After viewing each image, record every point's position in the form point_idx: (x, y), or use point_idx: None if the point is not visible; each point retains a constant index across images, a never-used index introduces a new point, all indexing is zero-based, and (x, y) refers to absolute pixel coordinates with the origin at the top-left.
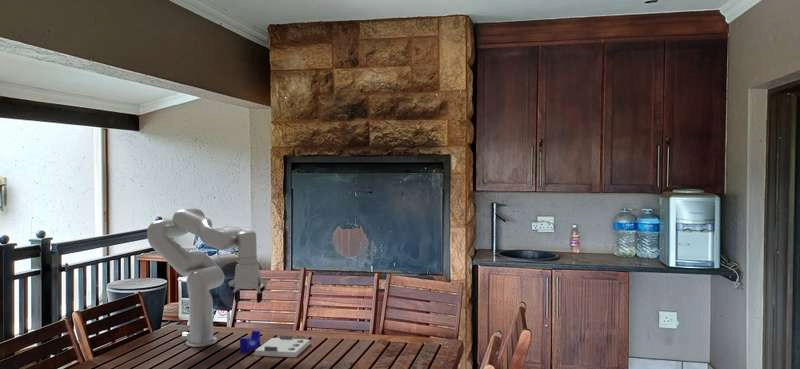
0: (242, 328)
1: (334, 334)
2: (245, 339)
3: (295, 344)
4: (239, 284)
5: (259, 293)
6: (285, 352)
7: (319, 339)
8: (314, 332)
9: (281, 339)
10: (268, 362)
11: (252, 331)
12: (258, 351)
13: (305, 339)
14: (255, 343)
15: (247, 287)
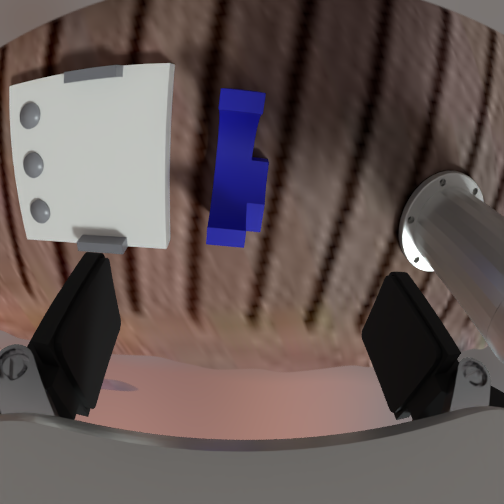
0: (335, 361)
1: (32, 320)
2: (229, 89)
3: (34, 167)
4: (477, 502)
5: (39, 356)
6: (41, 78)
7: (38, 279)
8: None
9: (116, 230)
10: (93, 4)
11: (242, 230)
12: (154, 64)
13: (38, 238)
14: (214, 176)
15: (207, 479)
